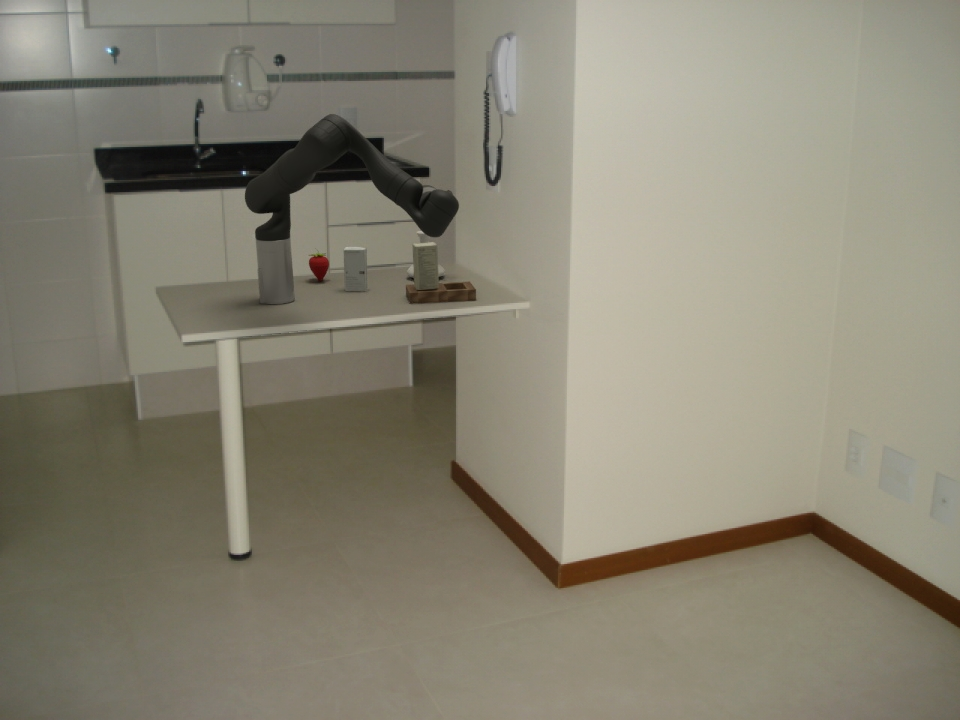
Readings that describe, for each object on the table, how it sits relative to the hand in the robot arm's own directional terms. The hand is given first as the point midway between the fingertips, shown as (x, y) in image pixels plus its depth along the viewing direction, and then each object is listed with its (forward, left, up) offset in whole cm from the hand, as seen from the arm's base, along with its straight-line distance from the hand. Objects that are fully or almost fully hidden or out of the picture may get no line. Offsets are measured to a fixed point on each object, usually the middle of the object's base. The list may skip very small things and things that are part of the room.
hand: (420, 194), depth 255 cm
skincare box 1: (-16, +26, -30) cm, 43 cm away
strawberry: (-26, +40, -30) cm, 57 cm away
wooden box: (+6, +11, -30) cm, 33 cm away
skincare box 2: (+2, +11, -27) cm, 29 cm away
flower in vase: (+6, +37, -30) cm, 48 cm away
